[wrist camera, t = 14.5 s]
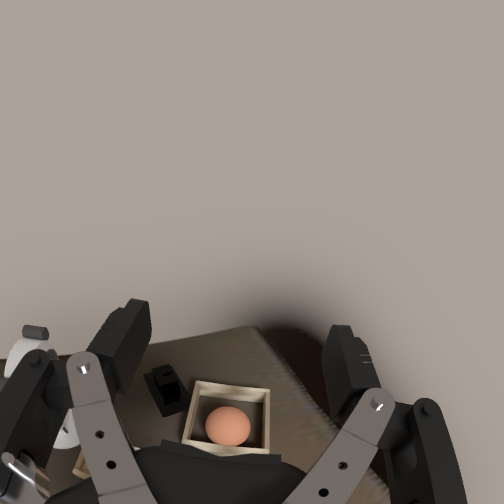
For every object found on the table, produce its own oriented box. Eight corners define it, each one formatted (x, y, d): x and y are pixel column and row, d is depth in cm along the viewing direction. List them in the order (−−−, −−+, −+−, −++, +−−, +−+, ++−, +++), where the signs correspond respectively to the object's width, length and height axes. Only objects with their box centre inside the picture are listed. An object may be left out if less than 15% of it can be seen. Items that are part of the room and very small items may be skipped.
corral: (183, 450, 31) (181, 442, 29) (196, 391, 41) (196, 380, 39) (265, 460, 31) (269, 452, 29) (266, 400, 41) (269, 389, 39)
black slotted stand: (205, 412, 38) (204, 397, 36) (161, 428, 34) (157, 413, 32) (172, 360, 47) (170, 342, 45) (134, 371, 43) (130, 353, 41)
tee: (97, 493, 21) (72, 472, 17) (106, 468, 25) (84, 442, 21) (129, 504, 21) (109, 487, 17) (136, 478, 25) (119, 455, 21)
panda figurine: (88, 459, 25) (43, 400, 19) (24, 443, 23) (-29, 379, 16) (98, 395, 36) (70, 325, 29) (40, 385, 33) (6, 317, 27)
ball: (205, 440, 34) (200, 447, 28) (209, 403, 37) (205, 403, 31) (246, 445, 34) (249, 453, 28) (251, 408, 37) (254, 409, 31)
